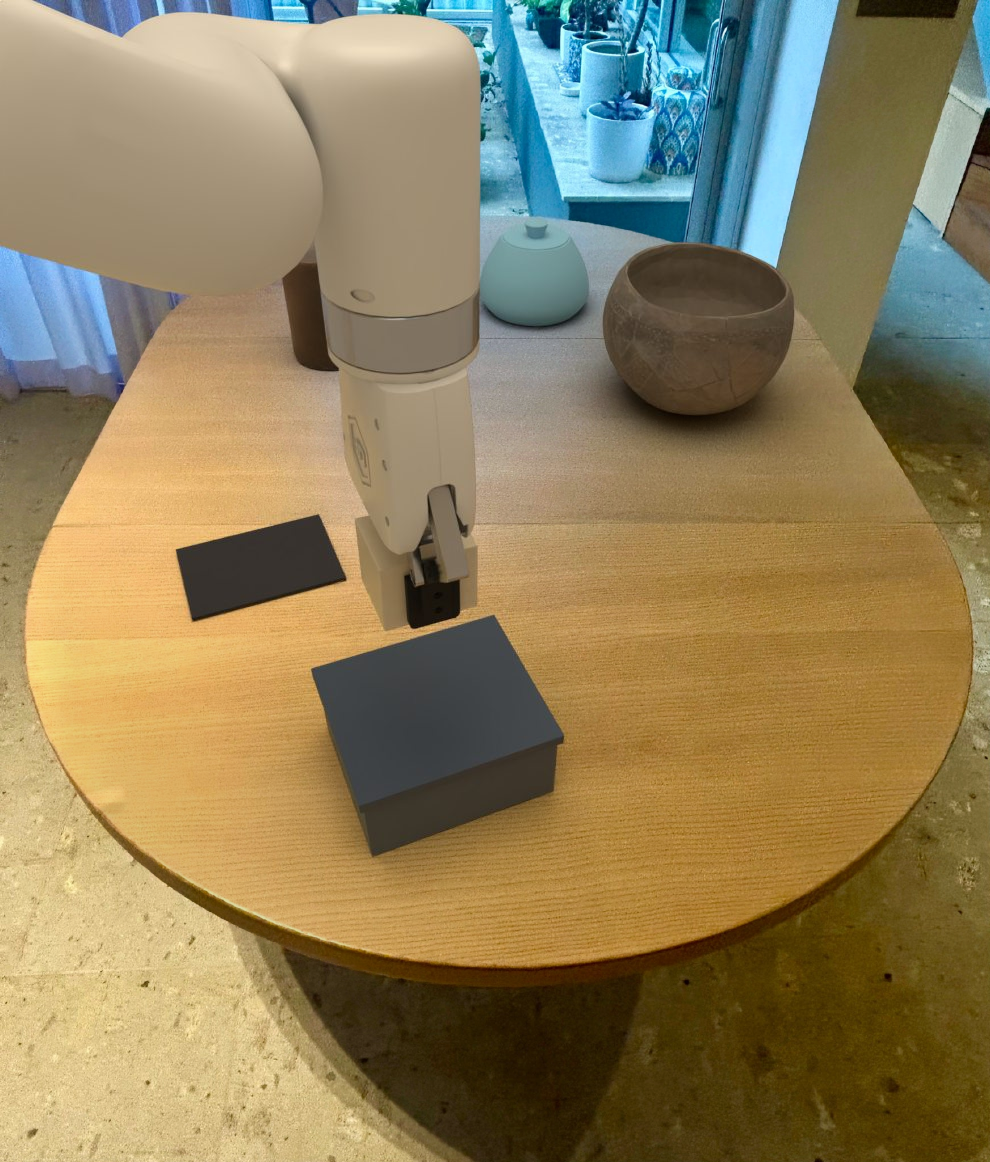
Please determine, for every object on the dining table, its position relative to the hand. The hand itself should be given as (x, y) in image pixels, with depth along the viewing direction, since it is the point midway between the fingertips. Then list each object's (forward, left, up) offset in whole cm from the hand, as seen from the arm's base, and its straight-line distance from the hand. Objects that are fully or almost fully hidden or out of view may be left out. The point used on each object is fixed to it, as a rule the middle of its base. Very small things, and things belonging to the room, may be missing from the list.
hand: (418, 587), depth 55 cm
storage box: (0, 0, -18) cm, 18 cm away
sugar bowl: (+38, +66, -18) cm, 78 cm away
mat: (-8, +27, -18) cm, 33 cm away
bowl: (+45, +38, -18) cm, 62 cm away
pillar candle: (+9, +64, -18) cm, 67 cm away
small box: (0, 0, 0) cm, 0 cm away
